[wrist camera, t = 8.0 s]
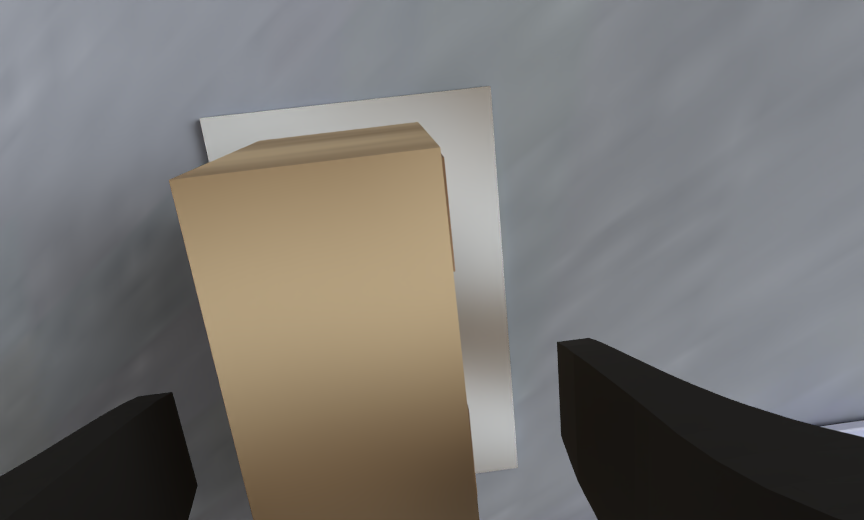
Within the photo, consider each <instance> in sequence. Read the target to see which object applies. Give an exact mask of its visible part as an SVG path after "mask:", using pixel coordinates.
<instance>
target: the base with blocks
mask: <svg viewBox="0 0 864 520" xmlns="http://www.w3.org/2000/svg"><path fill="white" fill-rule="evenodd" d="M413 122H419V124H420V125H421V126H422V127H423V128H424V129H425V130H426V132H427V133H428V134H429V135H430V136H431V137H432V138H433V139H434V141H435V142H436V143H437V144H438V145H439V146H440V149H441V158H442V168H443V177H444V187H445V196H446V206H447V215H448V225H449V235H450V244H451V254H452V263H453V273H454V282H455V292H456V302H457V311H458V321H459V330H460V340H461V349H462V359H463V368H464V378H465V388H466V397H467V407H468V416H469V426H470V435H471V445H472V454H473V464H474V474H476V473H483V472H490V471H498V470H505V469H512V468H518V465H517V451H516V437H515V423H514V409H513V395H512V381H511V367H510V353H509V339H508V325H507V311H506V297H505V283H504V269H503V255H502V241H501V227H500V213H499V199H498V185H497V171H496V157H495V143H494V129H493V115H492V101H491V87H490V86H486V87H477V88H468V89H459V90H450V91H441V92H432V93H423V94H414V95H405V96H396V97H387V98H378V99H369V100H360V101H351V102H342V103H333V104H324V105H315V106H306V107H297V108H288V109H279V110H270V111H261V112H252V113H243V114H234V115H225V116H216V117H207V118H200V123H201V128H202V132H203V137H204V141H205V146H206V151H207V155H208V160H209V162H211V161H214V160H216V159H218V158H221V157H223V156H225V155H228V154H230V153H232V152H234V151H237V150H239V149H241V148H244V147H246V146H248V145H251V144H253V143H255V142H257V141H261V140H269V139H278V138H286V137H295V136H303V135H312V134H320V133H328V132H337V131H345V130H354V129H362V128H371V127H379V126H388V125H396V124H404V123H413ZM475 483H476V477H475ZM476 493H477V487H476Z"/></svg>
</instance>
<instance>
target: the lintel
mask: <svg viewBox="0 0 864 520" xmlns="http://www.w3.org/2000/svg"><path fill="white" fill-rule="evenodd" d="M169 183H170V187H171V191H172V195H173V199H174V203H175V207H176V211H177V215H178V219H179V223H180V227H181V231H182V235H183V239H184V243H185V247H186V251H187V255H188V259H189V263H190V267H191V271H192V275H193V279H194V283H195V287H196V291H197V295H198V299H199V303H200V307H201V311H202V315H203V319H204V323H205V327H206V331H207V335H208V339H209V343H210V347H211V351H212V355H213V360H214V364H215V368H216V372H217V376H218V380H219V384H220V388H221V392H222V396H223V400H224V404H225V408H226V412H227V416H228V420H229V424H230V428H231V432H232V436H233V440H234V444H235V448H236V452H237V456H238V460H239V464H240V468H241V472H242V476H243V480H244V484H245V488H246V492H247V496H248V500H249V504H250V508H251V512H252V516H253V520H479V512H478V502H477V493H476V483H475V474H474V464H473V454H472V445H471V435H470V426H469V416H468V407H467V397H466V388H465V378H464V368H463V359H462V349H461V340H460V330H459V321H458V311H457V302H456V292H455V282H454V273H453V263H452V254H451V244H450V235H449V225H448V215H447V206H446V196H445V187H444V177H443V168H442V158H441V149H440V146H439V145H438V144H437V143H436V142H435V141H434V139H433V138H432V137H431V136H430V135H429V134H428V133H427V132H426V130H425V129H424V128H423V127H422V126H421V125H420V124H419V122H413V123H404V124H396V125H388V126H379V127H371V128H362V129H354V130H345V131H337V132H328V133H320V134H312V135H303V136H295V137H286V138H278V139H269V140H261V141H257V142H255V143H253V144H251V145H248V146H246V147H244V148H241V149H239V150H237V151H234V152H232V153H230V154H228V155H225V156H223V157H221V158H218V159H216V160H214V161H211V162H209V163H207V164H205V165H202V166H200V167H198V168H195V169H193V170H191V171H188V172H186V173H184V174H182V175H179V176H177V177H175V178H172V179H170V180H169Z"/></svg>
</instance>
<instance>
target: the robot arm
mask: <svg viewBox="0 0 864 520" xmlns="http://www.w3.org/2000/svg"><path fill="white" fill-rule="evenodd" d="M557 352H558V375H559V397H560V420H561V436H562V439H563V442H564V445H565V448H566V450H567V453H568V456H569V459H570V462H571V464H572V467H573V469H574V472H575V475H576V477H577V480H578V482H579V484H580V486H581V488H582V490H583V492H584V494H585V496H586V498H587V500H588V502H589V503H590V505H591V507H592V509H593V511H594V513H595V515H596V517H597V519H598V520H864V420H863V421H856V422H849V423H842V424H835V425H827V426H820V427H819V426H815V425H811V424H808V423H804V422H800V421H797V420H793V419H790V418H786V417H783V416H780V415H777V414H773V413H770V412H767V411H764V410H761V409H758V408H755V407H751V406H748V405H745V404H742V403H739V402H737V401H734V400H731V399H728V398H726V397H723V396H720V395H718V394H715V393H713V392H710V391H708V390H705V389H703V388H700V387H698V386H695V385H693V384H690V383H688V382H686V381H683V380H681V379H679V378H677V377H674V376H672V375H670V374H668V373H665V372H663V371H661V370H659V369H657V368H654V367H652V366H650V365H648V364H646V363H644V362H642V361H640V360H638V359H635V358H633V357H631V356H629V355H627V354H625V353H623V352H621V351H619V350H617V349H615V348H612V347H610V346H608V345H606V344H604V343H601V342H599V341H596V340H593V339H590V338H585V339H577V340H569V341H562V342H557ZM196 489H197V482H196V478H195V474H194V471H193V467H192V463H191V460H190V456H189V452H188V448H187V445H186V441H185V437H184V434H183V430H182V426H181V423H180V419H179V415H178V412H177V408H176V404H175V400H174V397H173V393H172V392H169V393H161V394H154V395H146V396H139V397H136V398H134V399H132V400H130V401H128V402H126V403H124V404H122V405H120V406H118V407H116V408H114V409H113V410H111V411H109V412H107V413H106V414H104V415H102V416H100V417H99V418H97V419H95V420H94V421H92V422H90V423H89V424H87V425H86V426H84V427H82V428H81V429H79V430H77V431H76V432H74V433H72V434H71V435H69V436H68V437H66V438H64V439H63V440H61V441H59V442H58V443H56V444H54V445H53V446H51V447H50V448H48V449H46V450H45V451H43V452H41V453H40V454H38V455H37V456H35V457H33V458H32V459H30V460H28V461H26V462H25V463H23V464H21V465H19V466H18V467H16V468H14V469H13V470H11V471H9V472H7V473H6V474H4V475H2V476H0V520H188V518H189V515H190V511H191V508H192V504H193V500H194V496H195V493H196Z"/></svg>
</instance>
